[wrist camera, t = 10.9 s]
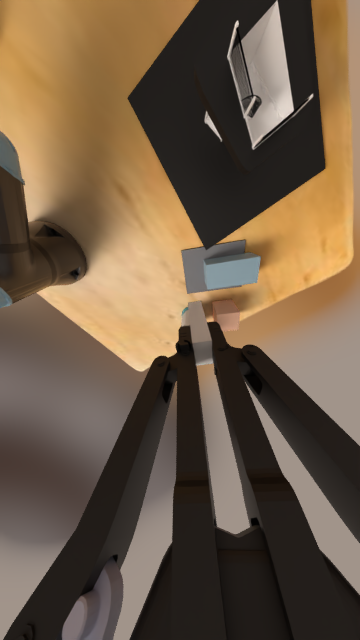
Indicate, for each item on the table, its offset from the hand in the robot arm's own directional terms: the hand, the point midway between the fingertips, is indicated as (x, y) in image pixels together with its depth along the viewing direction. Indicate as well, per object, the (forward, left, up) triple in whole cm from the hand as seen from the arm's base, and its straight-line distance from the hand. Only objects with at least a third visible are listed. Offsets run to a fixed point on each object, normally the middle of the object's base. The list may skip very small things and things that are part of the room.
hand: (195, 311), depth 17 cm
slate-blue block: (+16, -3, -23) cm, 28 cm away
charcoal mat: (+6, -3, -26) cm, 27 cm away
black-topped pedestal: (+11, +21, -26) cm, 35 cm away
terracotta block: (+9, -16, -26) cm, 32 cm away
